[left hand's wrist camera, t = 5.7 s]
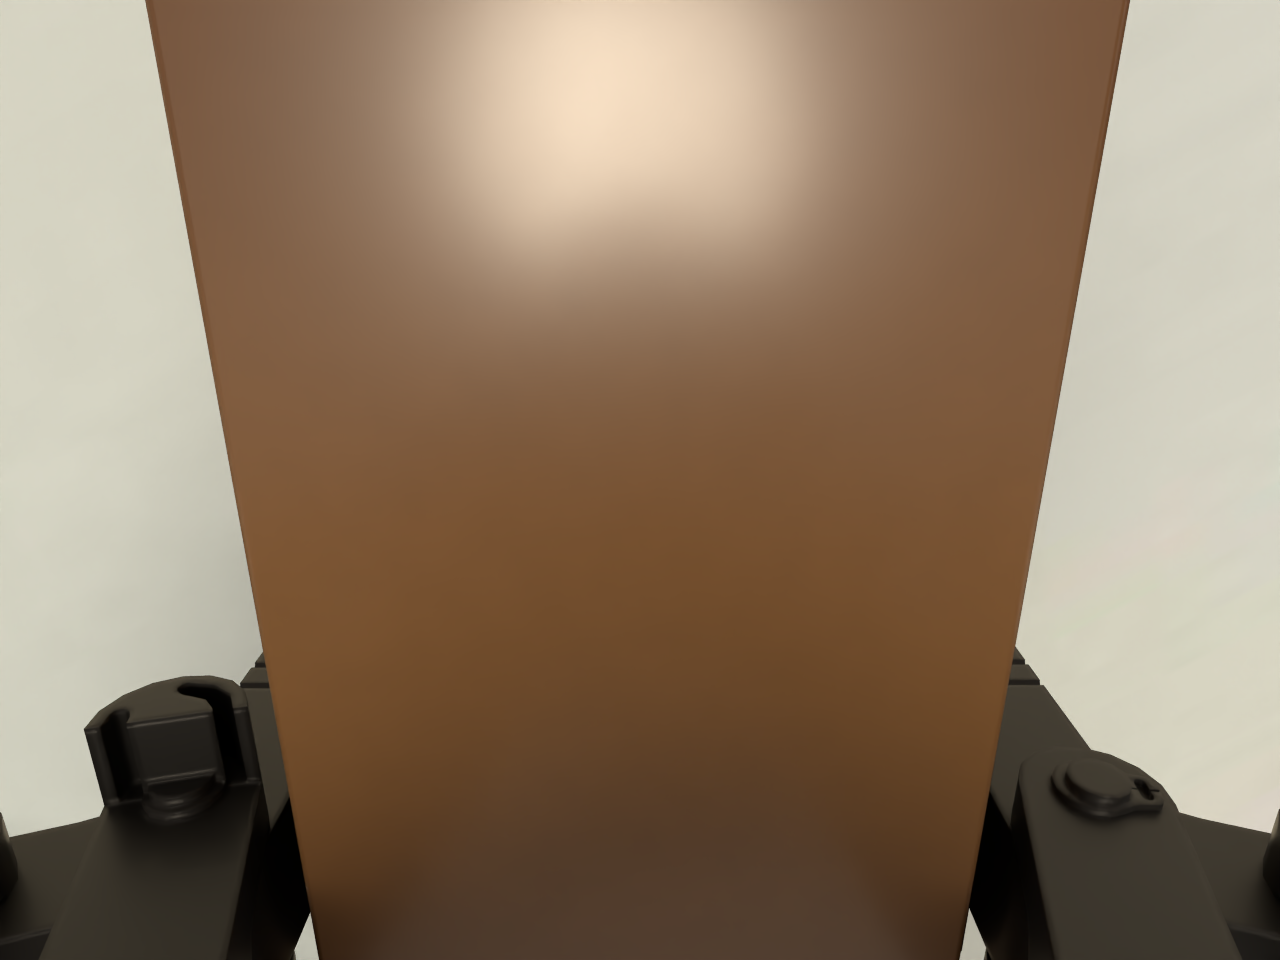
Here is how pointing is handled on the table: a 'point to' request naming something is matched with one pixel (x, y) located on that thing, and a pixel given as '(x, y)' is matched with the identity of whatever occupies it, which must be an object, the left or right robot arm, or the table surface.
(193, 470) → the table surface
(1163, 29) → the table surface
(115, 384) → the table surface
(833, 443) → the beam
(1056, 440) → the table surface
